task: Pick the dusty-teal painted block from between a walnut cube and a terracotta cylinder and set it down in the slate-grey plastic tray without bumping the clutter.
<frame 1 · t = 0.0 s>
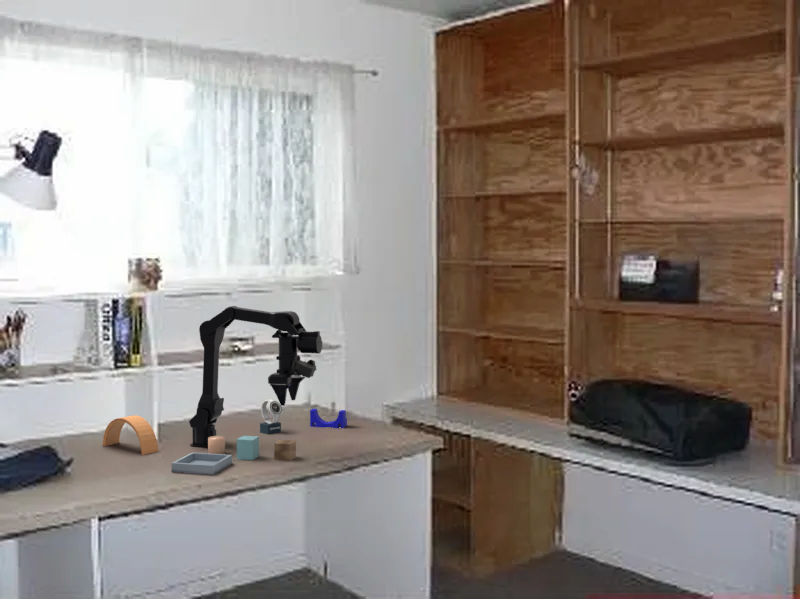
hand: (288, 402, 269), 15 cm above the table, fingers open, 9 cm apart
teal block: (248, 457, 260), on the table
arch: (130, 449, 271), on the table
terracotta cylinder: (216, 453, 264), on the table
cable clip: (328, 427, 304), on the table
watch: (270, 432, 294), on the table
tray: (202, 467, 248), on the table
walnut cube: (285, 458, 260), on the table
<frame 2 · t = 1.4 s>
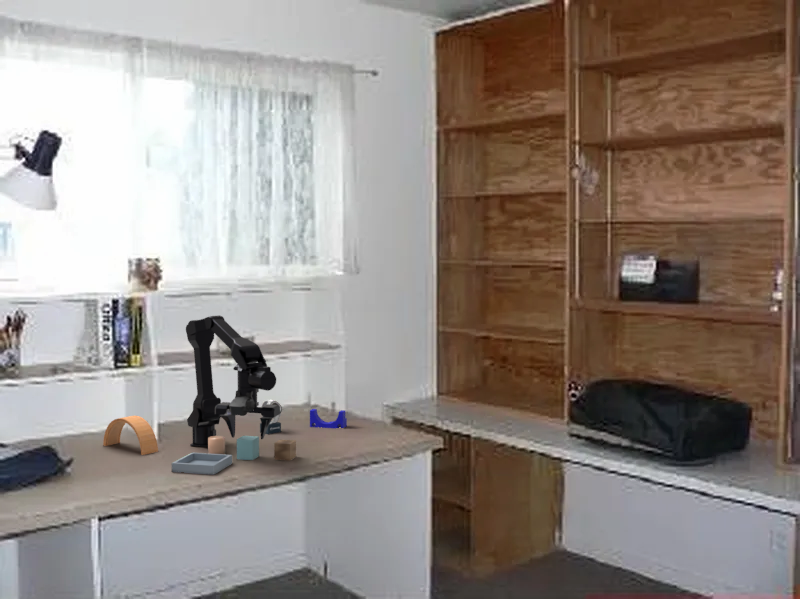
hand: (247, 438, 260), 6 cm above the table, fingers open, 9 cm apart
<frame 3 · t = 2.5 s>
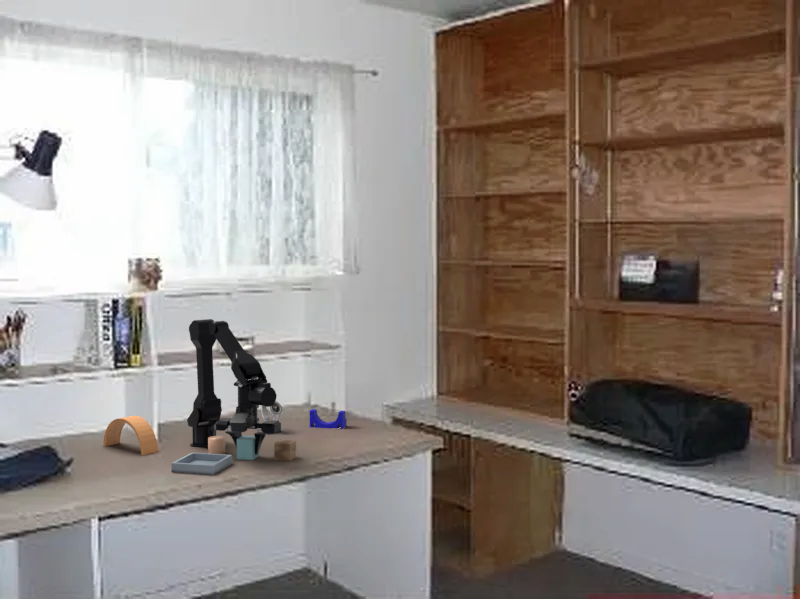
hand: (248, 454, 260), 1 cm above the table, fingers closed on teal block, 5 cm apart
teal block: (248, 457, 260), on the table, touching gripper
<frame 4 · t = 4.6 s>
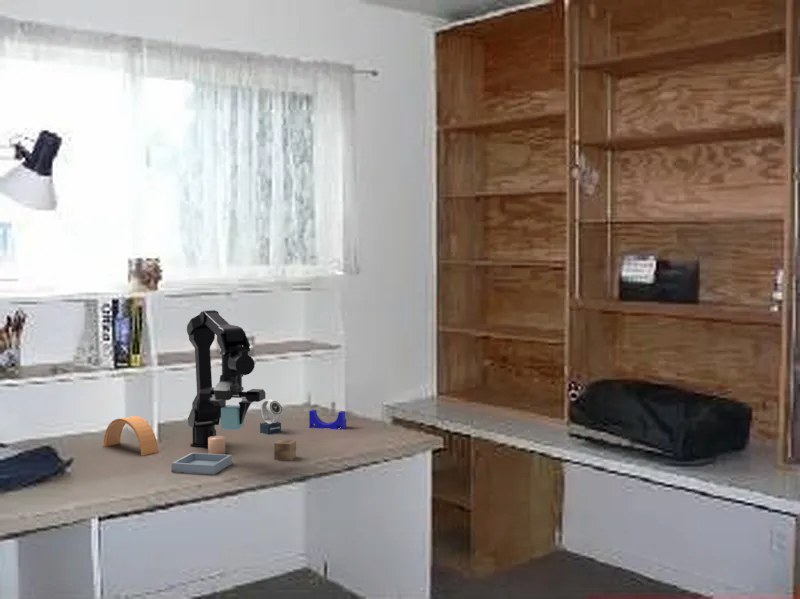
hand: (232, 423, 255), 11 cm above the table, fingers closed on teal block, 5 cm apart
teal block: (232, 427, 255), point 10 cm above the table, touching gripper
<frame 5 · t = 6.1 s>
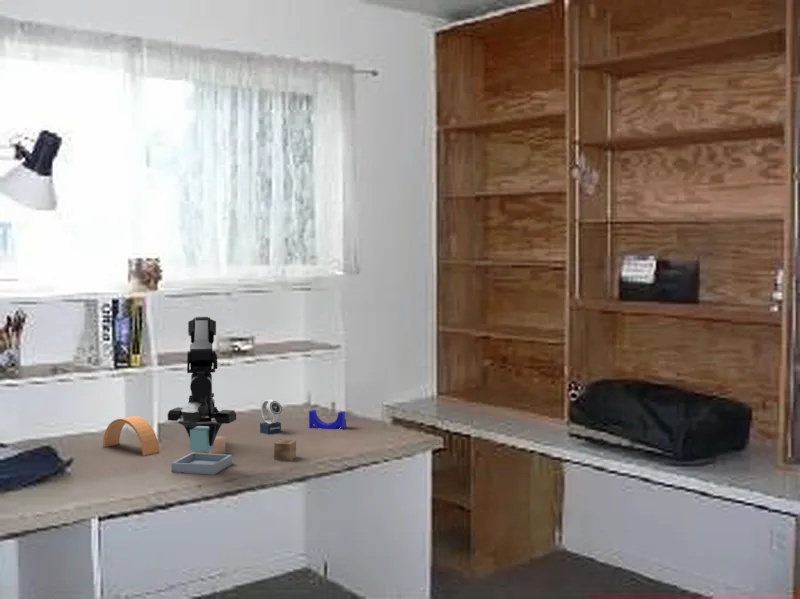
hand: (202, 445, 248), 6 cm above the table, fingers closed on teal block, 5 cm apart
teal block: (202, 448, 248), point 5 cm above the table, touching gripper
when the fingers open (3 cm above the table, at t = 7.1 s): teal block drops 1 cm, resting on tray.
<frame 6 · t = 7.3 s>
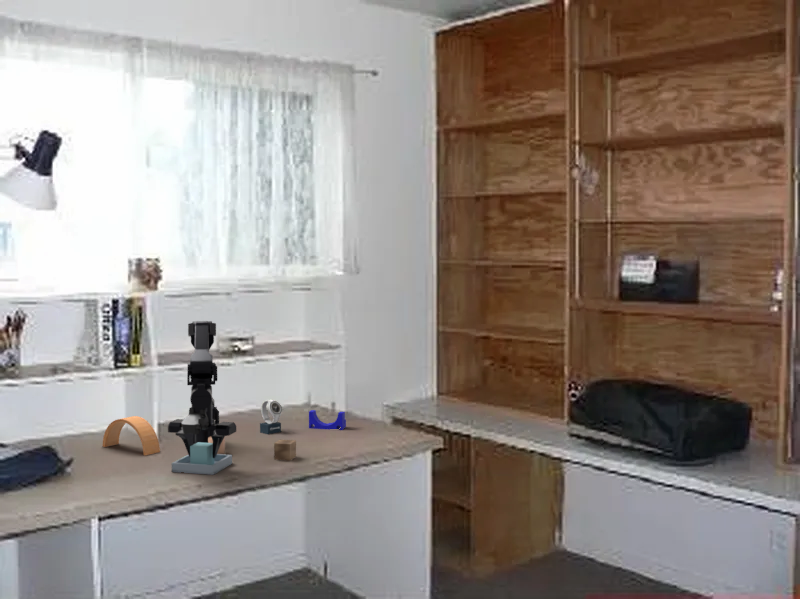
hand: (202, 457, 248), 3 cm above the table, fingers open, 7 cm apart
teal block: (202, 465, 248), point 1 cm above the table, touching tray
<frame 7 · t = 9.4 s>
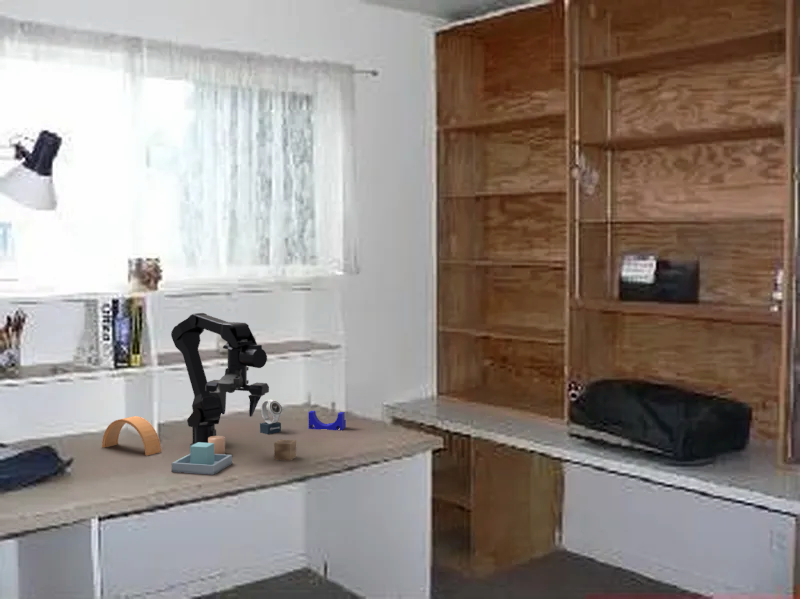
hand: (237, 415, 265), 11 cm above the table, fingers open, 9 cm apart
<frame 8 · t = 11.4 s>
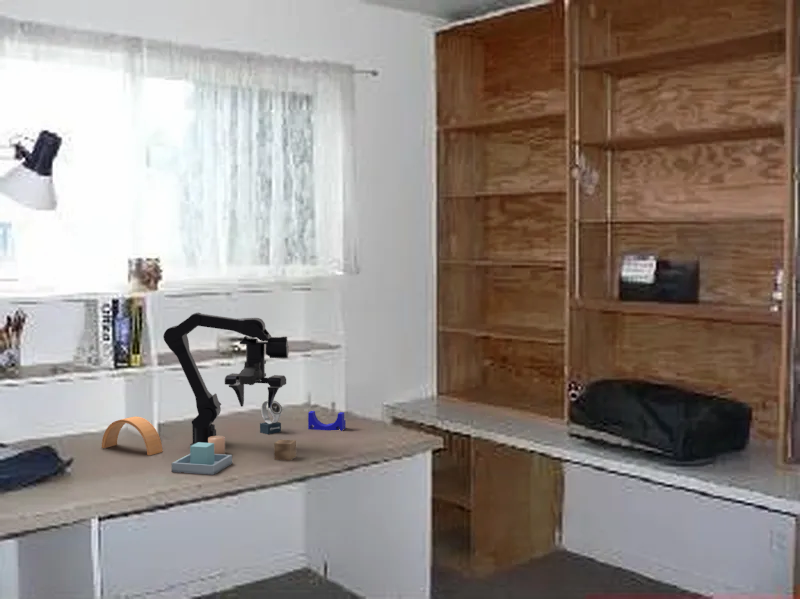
hand: (255, 407, 276), 12 cm above the table, fingers open, 9 cm apart
at the end: teal block inside the target area on the tray (0.0 cm from its centre), point 0.6 cm above the tray's base; the gripper is holding nothing; walnut cube moved 0.1 cm from its start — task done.
